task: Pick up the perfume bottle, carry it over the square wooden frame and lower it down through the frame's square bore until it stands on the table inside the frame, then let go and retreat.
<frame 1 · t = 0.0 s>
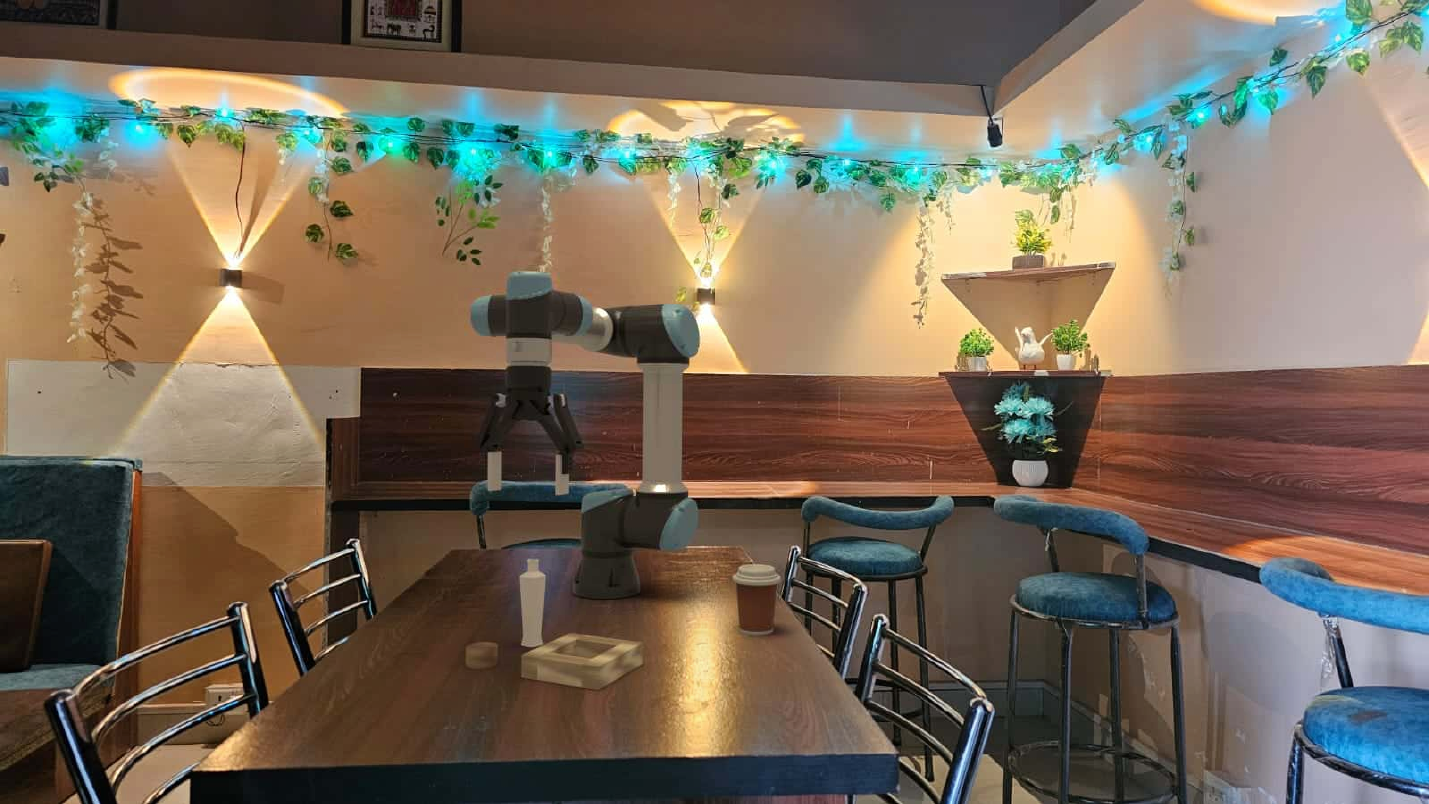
hand: (527, 492, 141), 28 cm above the table, fingers open, 13 cm apart
perfume bottle: (533, 645, 150), on the table
brown short cylinder: (481, 664, 139), on the table
square wooden frame: (583, 670, 136), on the table
coffee cup: (756, 631, 160), on the table
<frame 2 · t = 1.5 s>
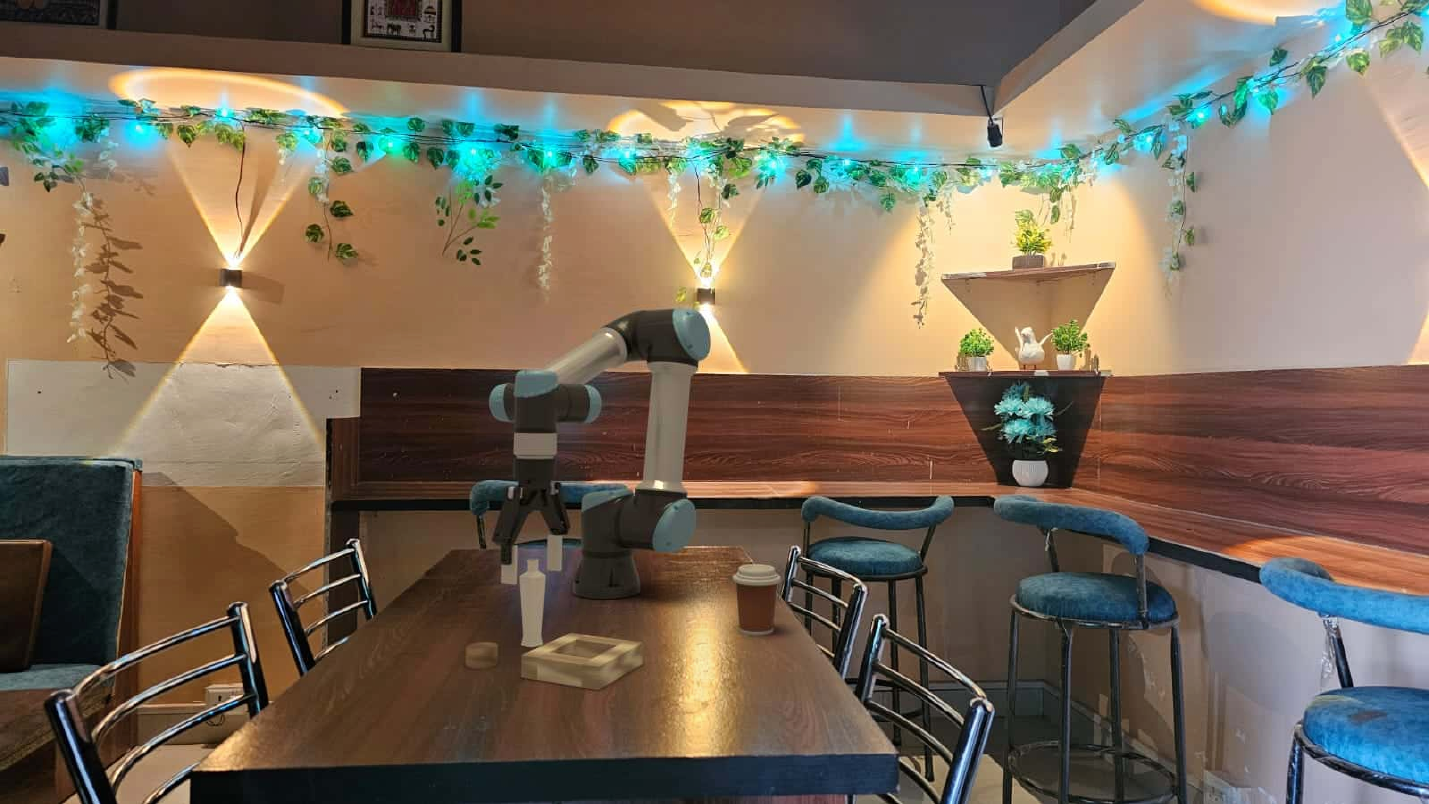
hand: (532, 576, 150), 12 cm above the table, fingers open, 13 cm apart
nothing on the table moved.
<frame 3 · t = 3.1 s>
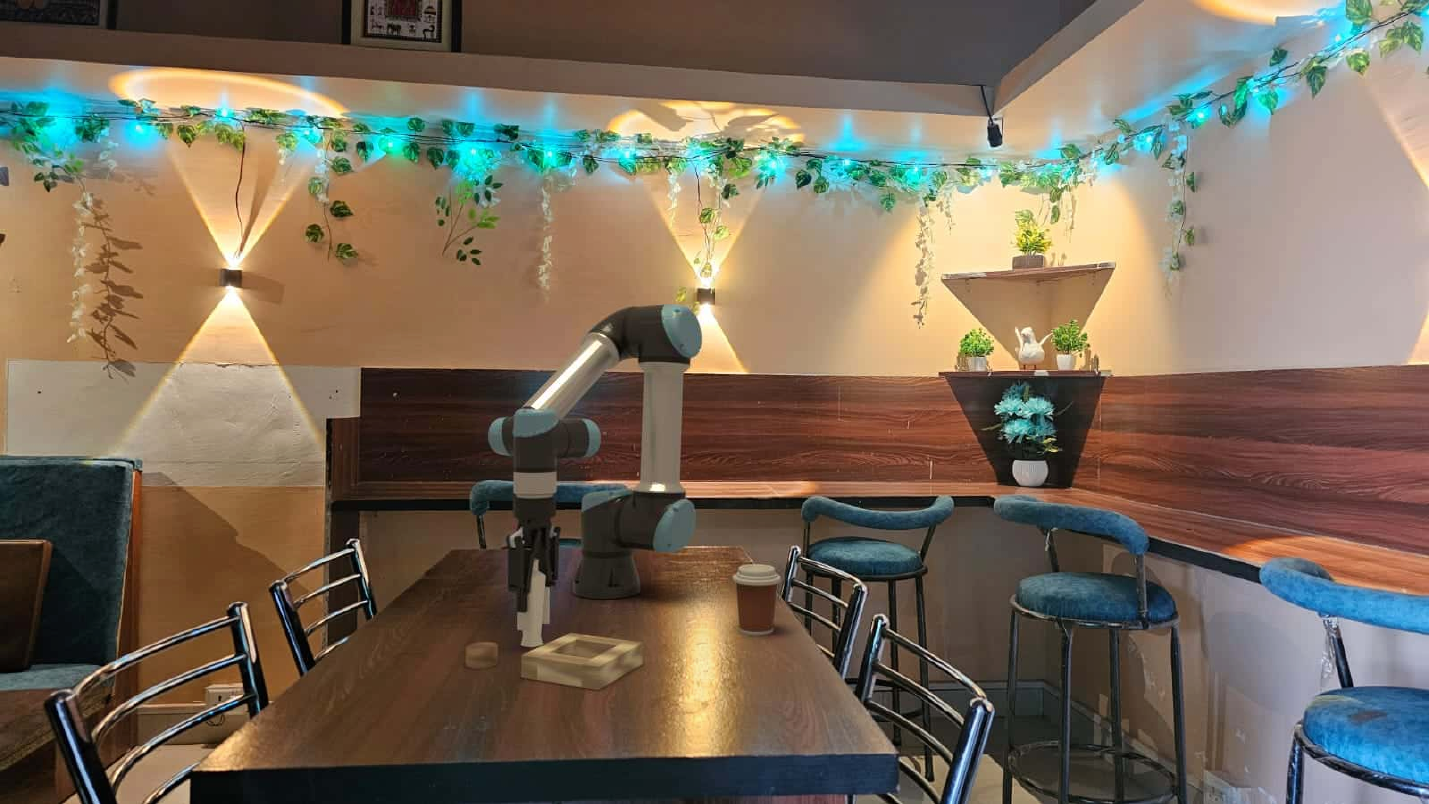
hand: (533, 626, 150), 3 cm above the table, fingers closed on perfume bottle, 4 cm apart
perfume bottle: (533, 645, 150), on the table, touching gripper
everything else where it was.
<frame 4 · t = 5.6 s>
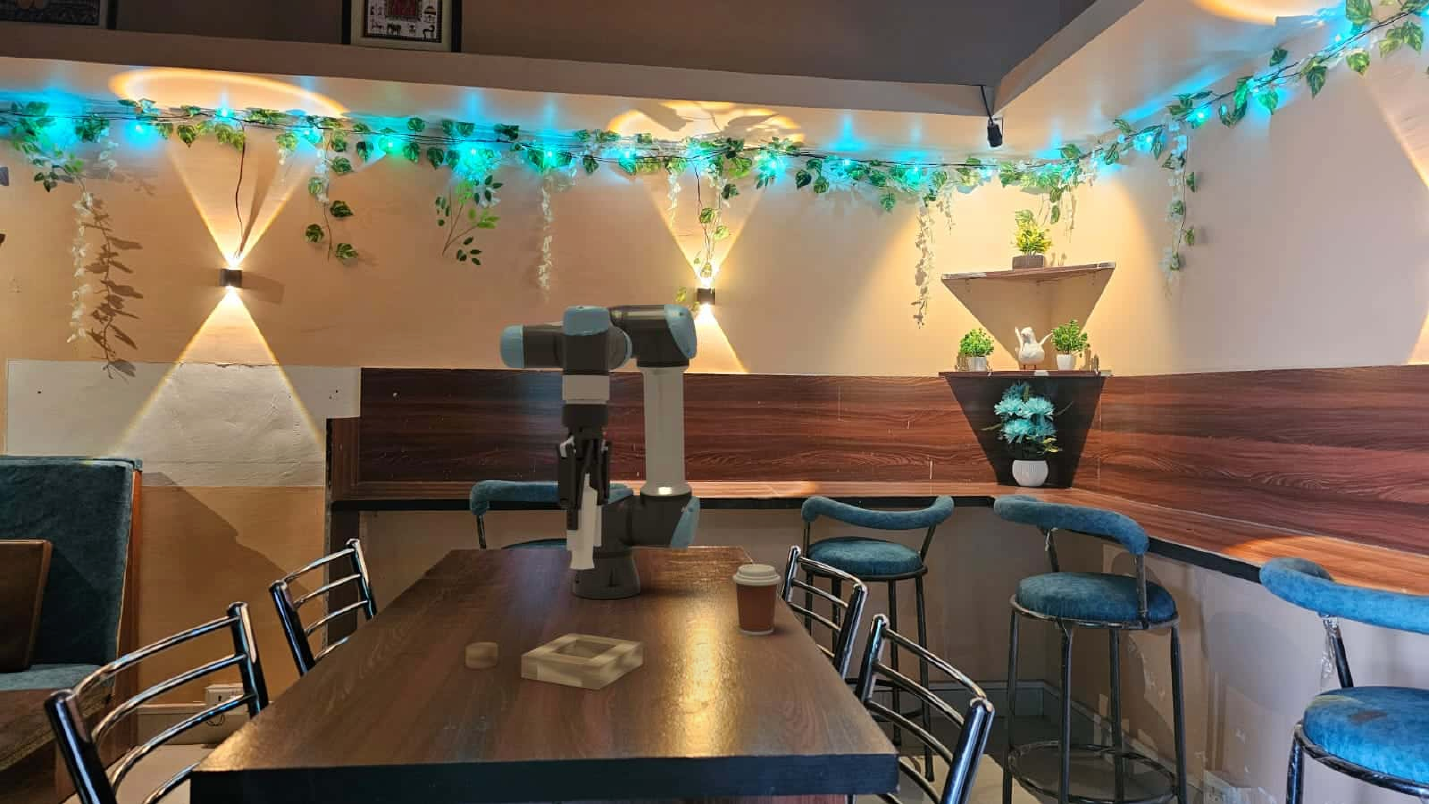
hand: (584, 547, 136), 20 cm above the table, fingers closed on perfume bottle, 4 cm apart
perfume bottle: (583, 568, 136), point 16 cm above the table, touching gripper
everything else where it was.
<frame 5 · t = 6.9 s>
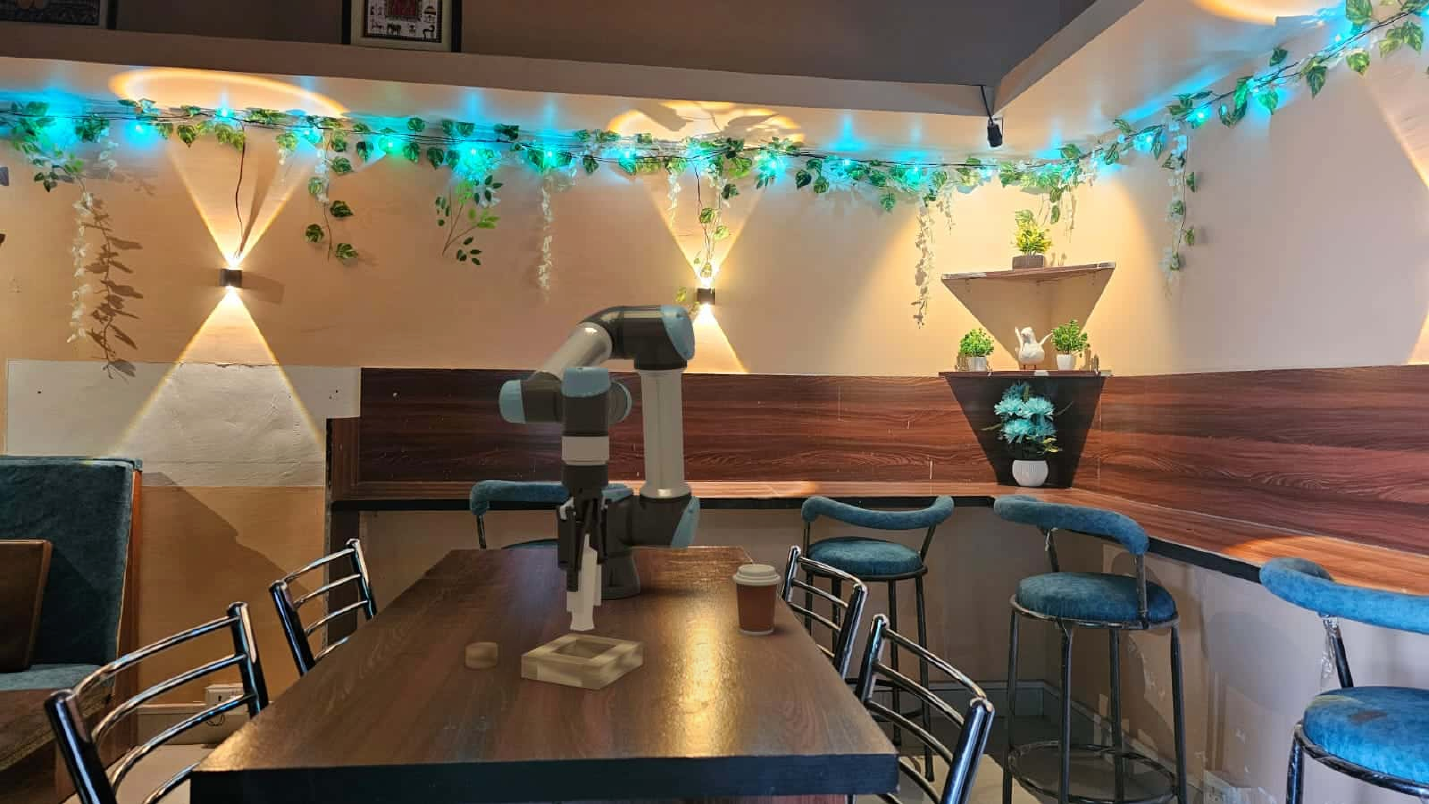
hand: (584, 607, 136), 10 cm above the table, fingers closed on perfume bottle, 4 cm apart
perfume bottle: (583, 628, 136), point 7 cm above the table, touching gripper
everything else where it was.
when the fingers open (5 cm above the table, at t = 8.2 s): perfume bottle drops 1 cm, resting in square wooden frame.
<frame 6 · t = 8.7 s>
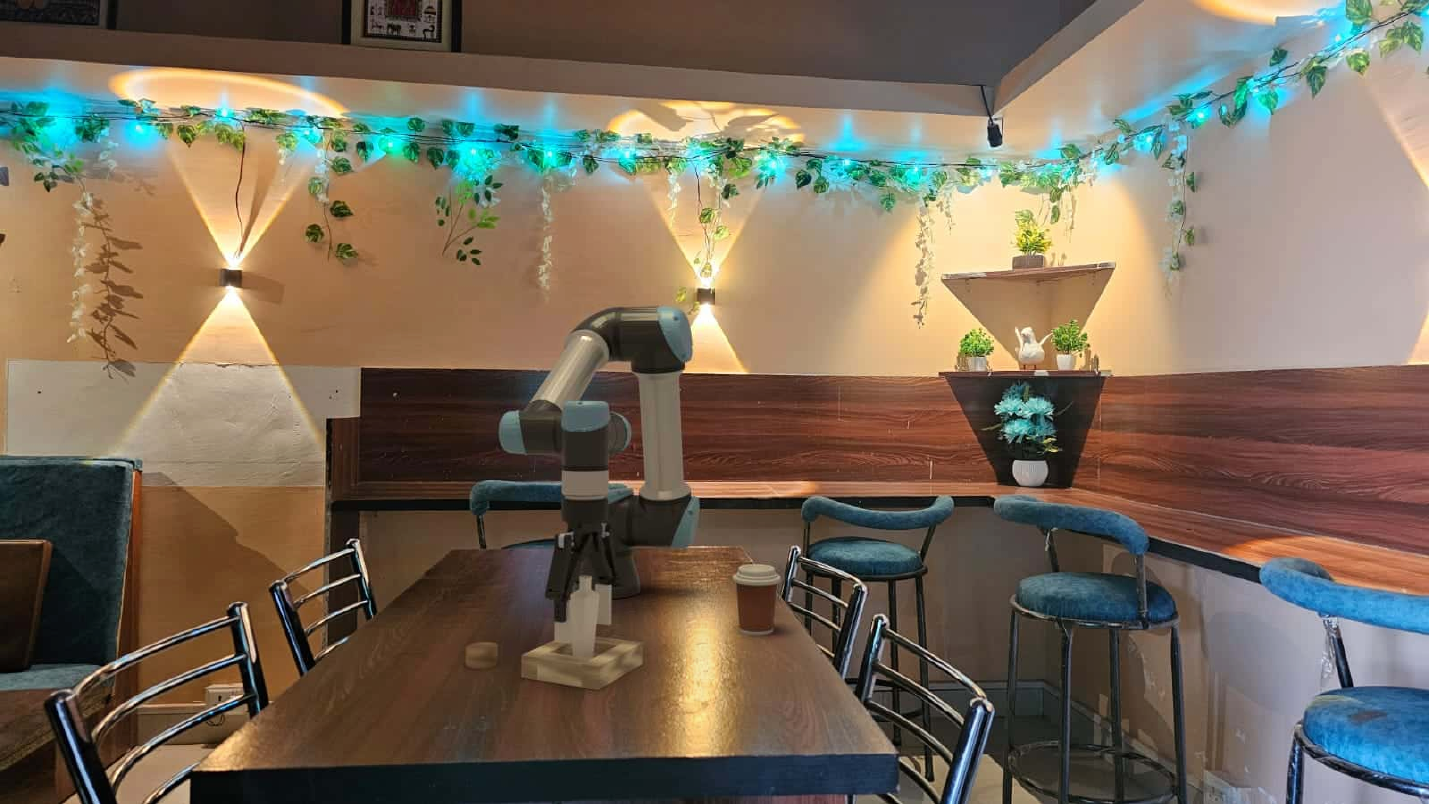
hand: (583, 632, 136), 6 cm above the table, fingers open, 11 cm apart
perfume bottle: (583, 671, 136), resting in square wooden frame
everything else where it was.
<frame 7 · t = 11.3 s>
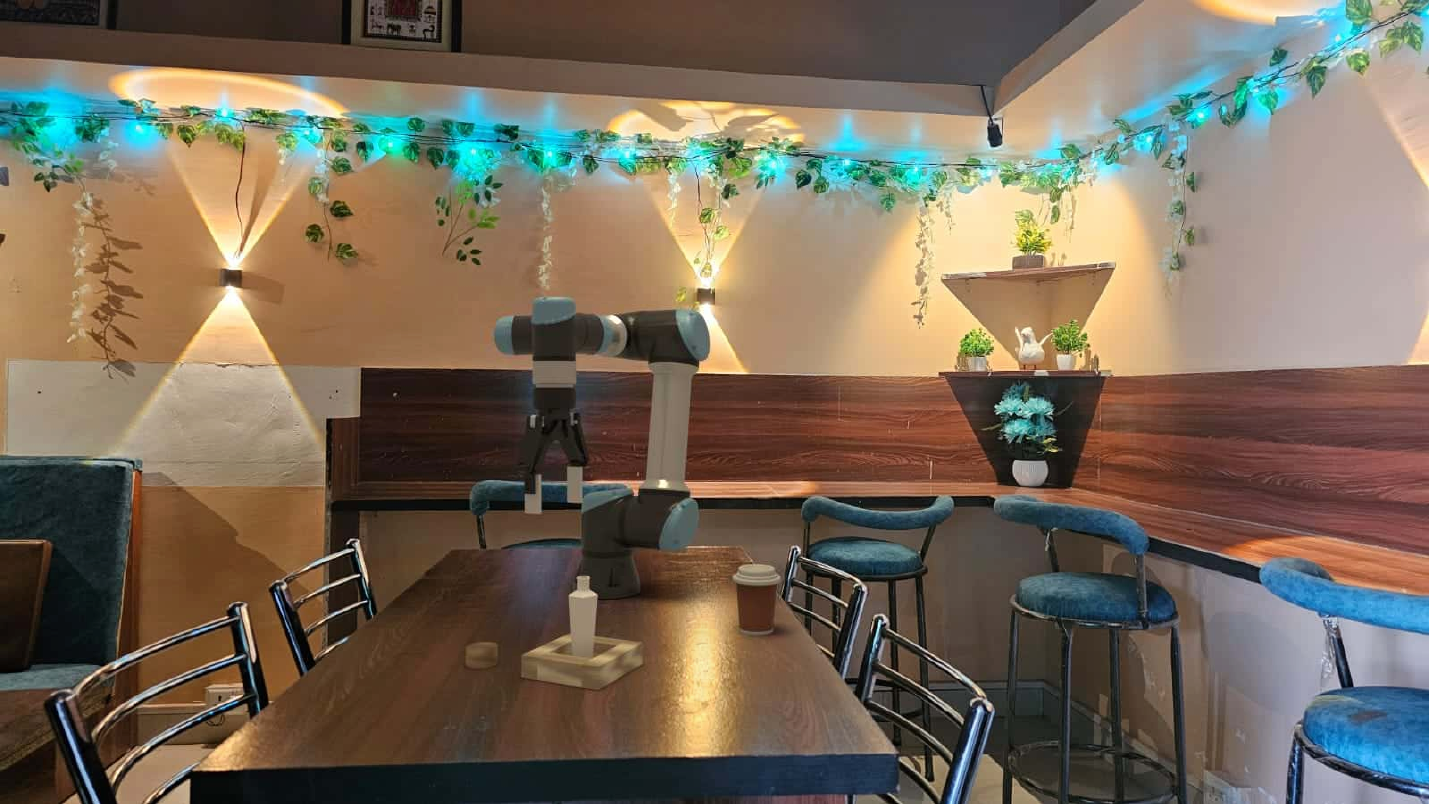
hand: (554, 508, 148), 25 cm above the table, fingers open, 13 cm apart
nothing on the table moved.
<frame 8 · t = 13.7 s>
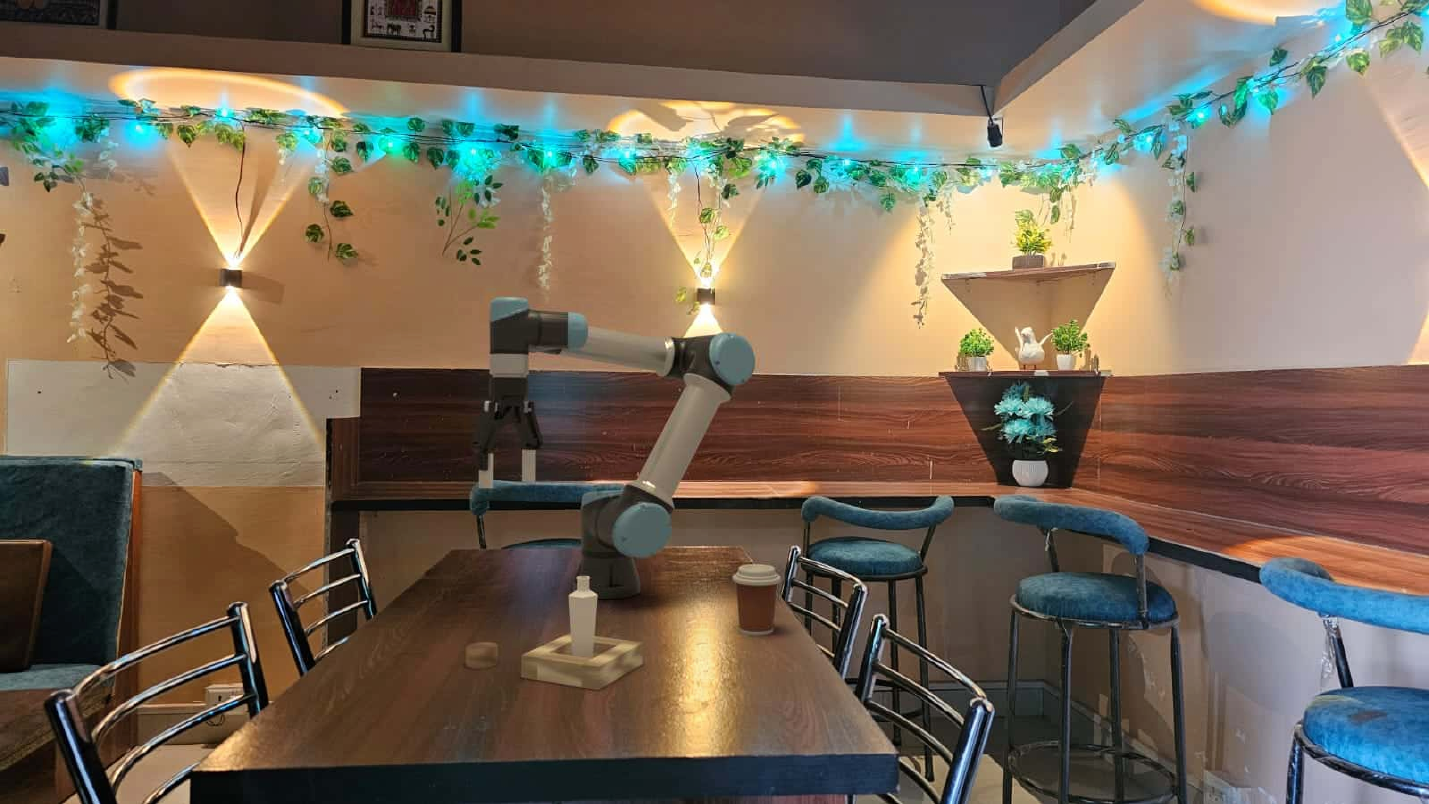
hand: (508, 485, 166), 27 cm above the table, fingers open, 13 cm apart
nothing on the table moved.
at the end: perfume bottle 0.0 cm off-centre on the square wooden frame, point 0.0 cm above the square wooden frame's base; perfume bottle tilted 0°; the gripper is holding nothing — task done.
